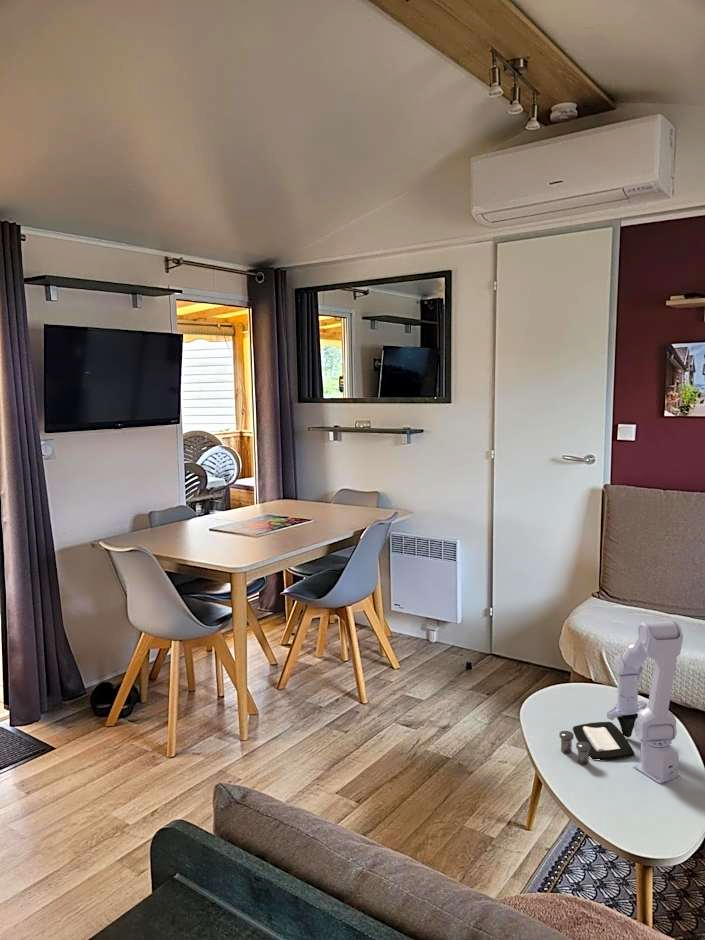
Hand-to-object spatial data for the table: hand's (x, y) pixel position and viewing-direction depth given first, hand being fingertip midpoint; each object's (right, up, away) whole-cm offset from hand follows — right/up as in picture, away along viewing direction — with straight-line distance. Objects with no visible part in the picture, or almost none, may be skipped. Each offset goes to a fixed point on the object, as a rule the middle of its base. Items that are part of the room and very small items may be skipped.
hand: (626, 735), depth 217 cm
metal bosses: (-19, -3, -9) cm, 21 cm away
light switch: (-8, -2, -1) cm, 8 cm away
